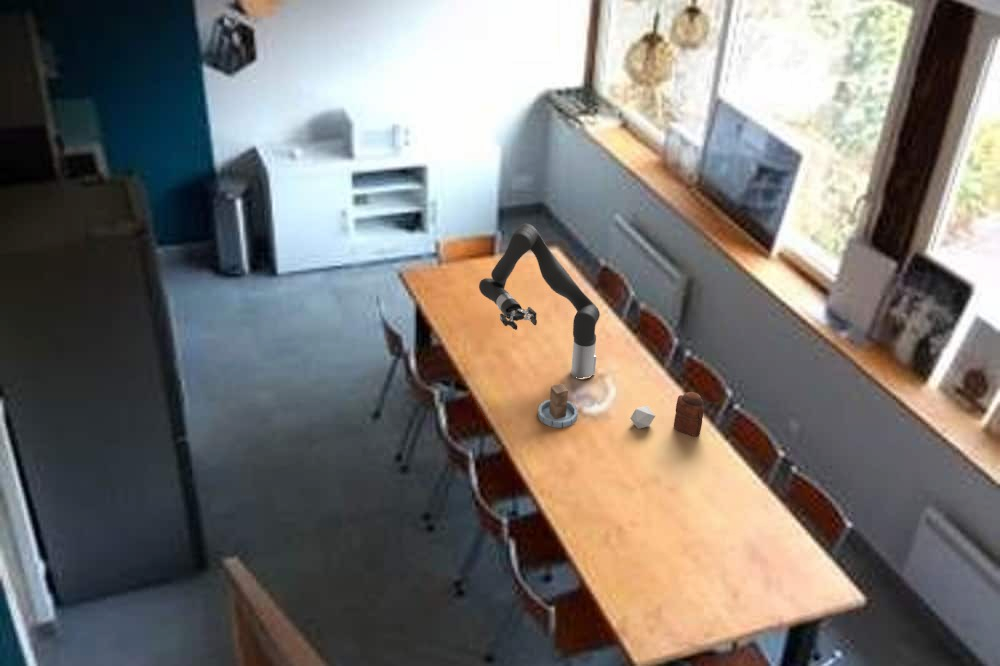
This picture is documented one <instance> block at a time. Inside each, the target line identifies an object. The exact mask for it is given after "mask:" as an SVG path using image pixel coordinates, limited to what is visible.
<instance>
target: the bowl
mask: <svg viewBox="0 0 1000 666" xmlns="http://www.w3.org/2000/svg"><path fill="white" fill-rule="evenodd" d="M549 409H550V398H549V399H546V400H544V401H543V402H542V403H541V404H540V405H539V406H538V413H537V414H538V415H537V417H538V419H539V420H540V421H541V424H544V425H546V426H549V427H550V428H551V427H552V428H558V429H560V428H561V429H562V428H567V427H570V426H572V425H574V423H576V422H577V420H578V407H577V406H576V405H575V404H574V403H572V401H570V400H567V411H566V416H565V417H562V418H558V419H554V417H553V416H552V415H551V414H550V413H549Z"/></svg>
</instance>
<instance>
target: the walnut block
mask: <svg viewBox="0 0 1000 666" xmlns="http://www.w3.org/2000/svg"><path fill="white" fill-rule="evenodd" d="M568 395H569V390H568V388H567V387H566V386H565V385H564V384H563V383H559V384H556V385H552V386H550V396H549V399H550V409H549V413H550V414H551V415H552V416H553V417H554V419H558V418H562V417H565V416H566V411H567V401H568V397H569V396H568Z"/></svg>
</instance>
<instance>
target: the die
mask: <svg viewBox="0 0 1000 666" xmlns="http://www.w3.org/2000/svg"><path fill="white" fill-rule="evenodd" d="M655 417H656V415H655V414H654V412H653V411H652V410H651V409H650V407H649V406H648V405H643V406H640V407H636V408H635V410H634V411H633V413H632V415H631V416H630V418H629V419H630V420H631V422H632V423H633V424H634V425H635V427H636V428H637V429H638V430H640V429H642V428H647V427H650V425H651V424H652V422H653V420H654V419H655Z"/></svg>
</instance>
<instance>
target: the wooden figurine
mask: <svg viewBox="0 0 1000 666" xmlns="http://www.w3.org/2000/svg"><path fill="white" fill-rule="evenodd" d="M676 400H677V401H676V404H675V405H676V406H675V413H674V420H673V421H674V422H673V427H674V429H675V430H676V431H678V432H681V433H684V434H687V435H688V436H693V437H700V436H701V430H702V426H703V418H704V412H705V408H704V405H703V404H704V400H703V399H702V397H701V395H700V394H699V393H697V392H695V391H694V392H693V391H692V392H691V391H687V392H686V393H683V394H681V395H678V396H677V399H676Z"/></svg>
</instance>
